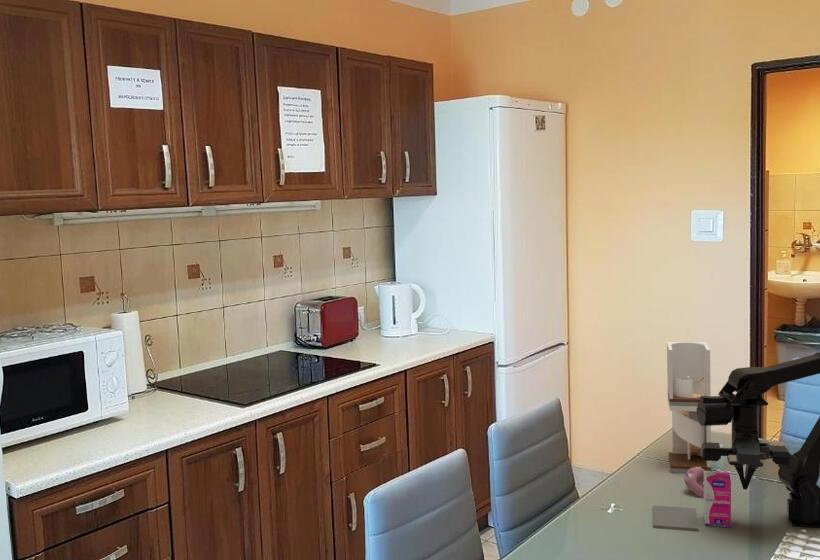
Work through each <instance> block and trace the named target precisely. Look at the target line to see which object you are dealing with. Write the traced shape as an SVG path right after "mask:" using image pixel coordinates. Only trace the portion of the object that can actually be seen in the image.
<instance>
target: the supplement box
mask: <svg viewBox="0 0 820 560" xmlns="http://www.w3.org/2000/svg"><path fill="white" fill-rule="evenodd" d="M703 489H704V498H703V519H704V520H703V521H704V526H710V527H723V528H731V527H732V481H731V477H730V473H729V472H720V471H711V472H710V471H704V482H703Z"/></svg>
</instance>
